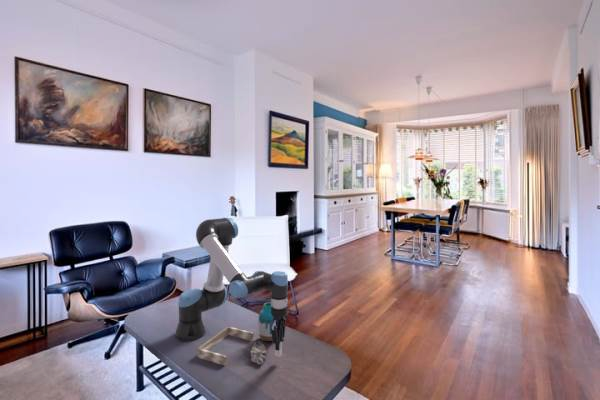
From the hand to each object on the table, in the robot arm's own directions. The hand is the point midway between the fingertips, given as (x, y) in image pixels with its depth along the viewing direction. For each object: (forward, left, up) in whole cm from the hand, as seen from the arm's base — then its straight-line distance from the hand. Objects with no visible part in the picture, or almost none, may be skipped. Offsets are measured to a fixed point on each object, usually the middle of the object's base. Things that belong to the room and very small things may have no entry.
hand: (278, 355), depth 139 cm
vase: (-14, +16, -4) cm, 21 cm away
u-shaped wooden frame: (-29, 0, -3) cm, 29 cm away
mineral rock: (-10, 0, -4) cm, 11 cm away
